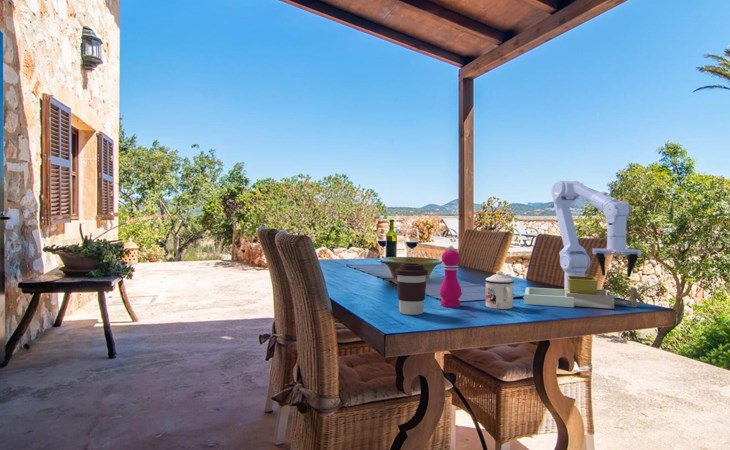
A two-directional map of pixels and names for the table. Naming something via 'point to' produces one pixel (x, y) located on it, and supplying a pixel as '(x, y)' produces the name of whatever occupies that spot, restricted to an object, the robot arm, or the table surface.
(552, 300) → the tray
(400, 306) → the coffee cup
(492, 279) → the teacup with lid
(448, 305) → the pepper mill
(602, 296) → the carrier frame
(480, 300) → the table surface
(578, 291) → the flower pot
